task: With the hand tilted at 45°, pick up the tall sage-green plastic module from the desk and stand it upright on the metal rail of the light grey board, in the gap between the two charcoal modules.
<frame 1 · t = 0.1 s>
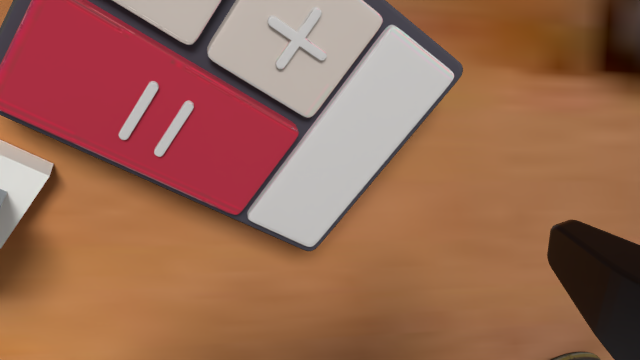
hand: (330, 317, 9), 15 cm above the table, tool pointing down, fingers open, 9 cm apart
calculator: (232, 53, 21), on the table
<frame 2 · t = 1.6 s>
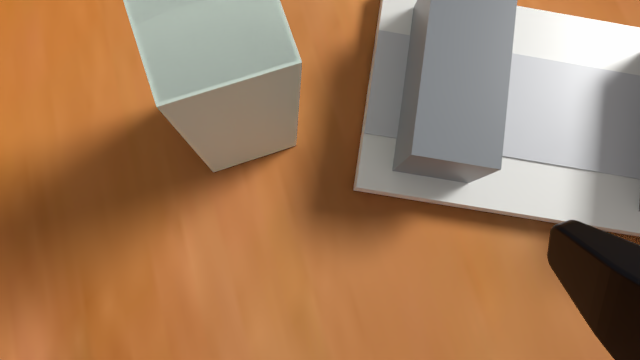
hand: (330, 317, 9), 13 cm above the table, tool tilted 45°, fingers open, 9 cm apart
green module: (241, 119, 23), on the table
rail board: (549, 119, 24), on the table
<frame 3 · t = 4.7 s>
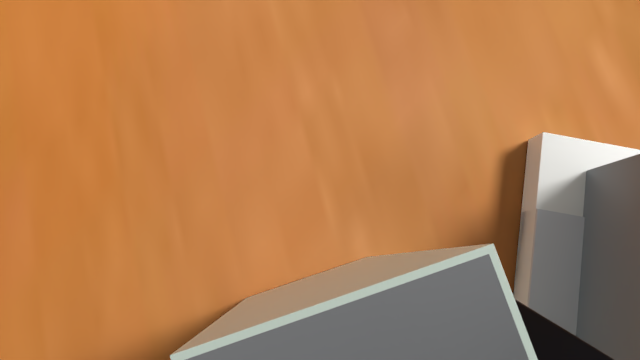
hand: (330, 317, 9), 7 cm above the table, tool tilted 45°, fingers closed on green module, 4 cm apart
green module: (327, 339, 15), on the table, touching gripper
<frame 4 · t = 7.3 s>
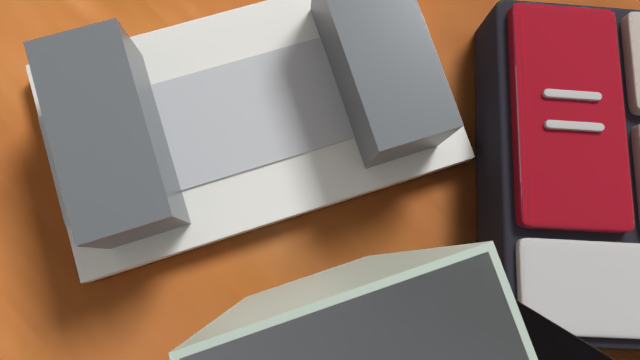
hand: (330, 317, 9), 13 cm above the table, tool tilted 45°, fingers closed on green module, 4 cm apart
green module: (327, 338, 15), point 7 cm above the table, touching gripper
rail board: (254, 118, 23), on the table
calculator: (579, 181, 25), on the table
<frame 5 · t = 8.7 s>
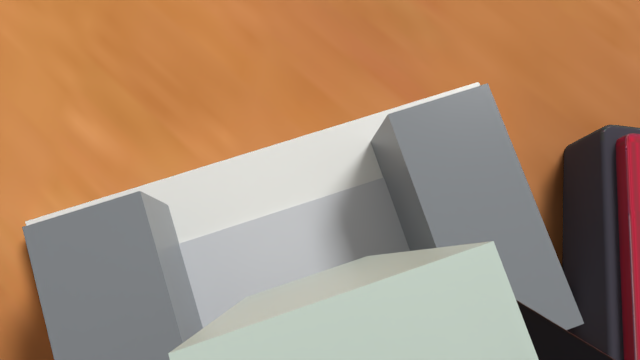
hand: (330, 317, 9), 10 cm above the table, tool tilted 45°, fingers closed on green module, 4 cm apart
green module: (327, 339, 15), point 4 cm above the table, touching gripper
rail board: (303, 274, 19), on the table
when the fingers open (9 cm above the table, at t = 9.9 s): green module drops 1 cm, resting on rail board.
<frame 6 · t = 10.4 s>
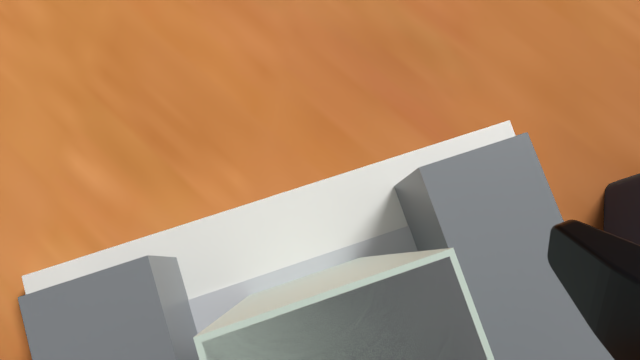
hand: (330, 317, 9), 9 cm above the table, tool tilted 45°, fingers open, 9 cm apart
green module: (323, 333, 17), point 1 cm above the table, touching rail board
rail board: (322, 328, 18), on the table
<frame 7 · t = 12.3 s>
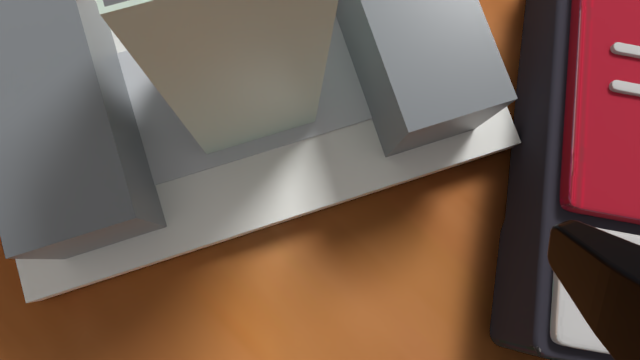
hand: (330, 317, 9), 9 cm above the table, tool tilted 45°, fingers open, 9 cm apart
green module: (245, 86, 18), point 1 cm above the table, touching rail board
rail board: (247, 95, 19), on the table
calculator: (635, 172, 20), on the table
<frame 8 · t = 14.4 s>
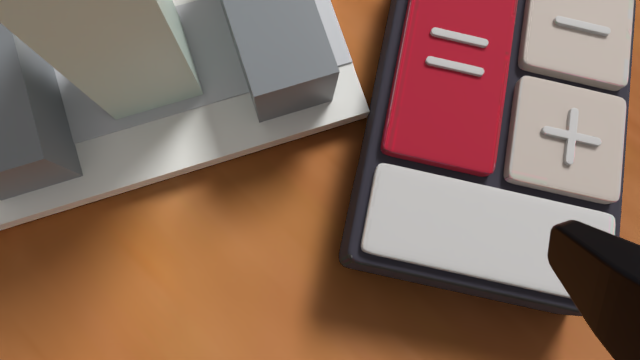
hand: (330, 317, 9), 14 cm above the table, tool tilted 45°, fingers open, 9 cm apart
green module: (148, 66, 23), point 1 cm above the table, touching rail board
rail board: (154, 75, 24), on the table
calculator: (474, 138, 25), on the table
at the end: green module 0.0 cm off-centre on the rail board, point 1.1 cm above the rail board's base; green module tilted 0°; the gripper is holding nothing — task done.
